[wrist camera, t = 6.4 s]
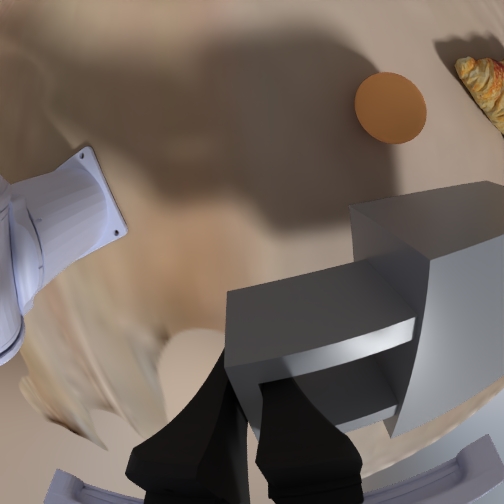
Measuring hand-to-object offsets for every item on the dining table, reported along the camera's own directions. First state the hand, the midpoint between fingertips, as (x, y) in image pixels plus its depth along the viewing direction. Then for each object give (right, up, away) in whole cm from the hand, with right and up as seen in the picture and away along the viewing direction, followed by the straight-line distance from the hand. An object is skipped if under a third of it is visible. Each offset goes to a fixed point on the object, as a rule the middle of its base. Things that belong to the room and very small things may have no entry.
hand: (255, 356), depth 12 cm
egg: (+9, +14, +3) cm, 17 cm away
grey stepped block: (+7, +3, +2) cm, 8 cm away
